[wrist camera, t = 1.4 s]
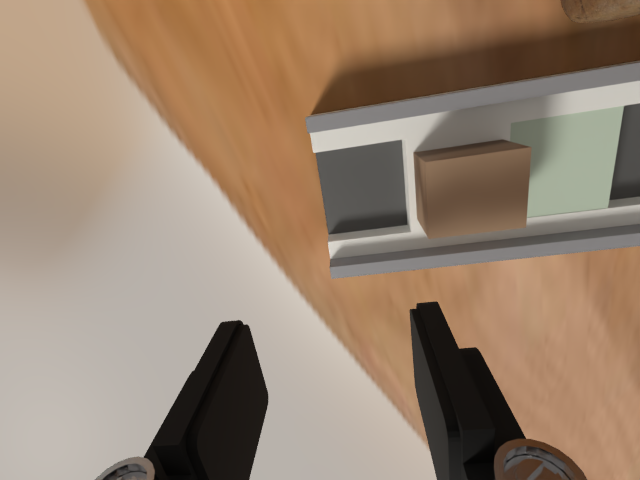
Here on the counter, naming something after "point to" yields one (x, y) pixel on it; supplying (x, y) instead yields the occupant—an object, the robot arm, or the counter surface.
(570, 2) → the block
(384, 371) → the counter surface
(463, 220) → the walnut block
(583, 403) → the counter surface
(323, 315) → the counter surface
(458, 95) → the board
